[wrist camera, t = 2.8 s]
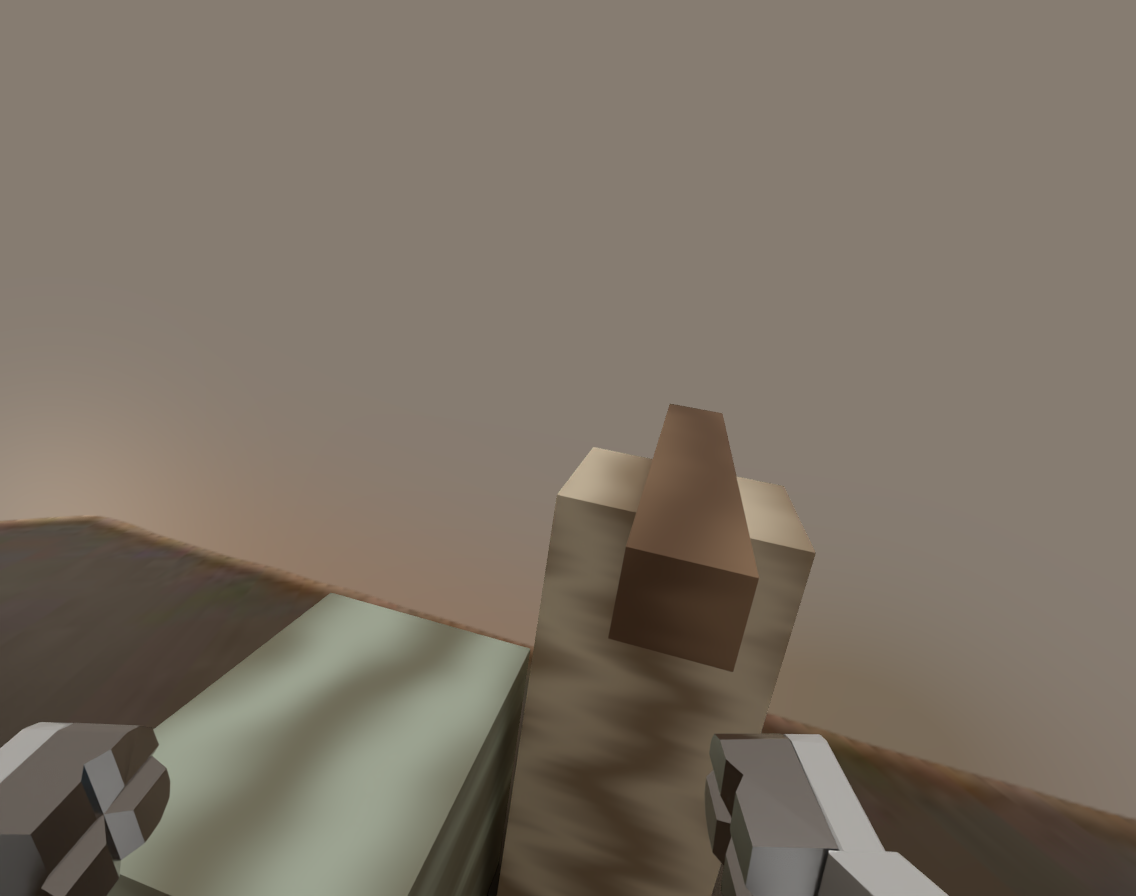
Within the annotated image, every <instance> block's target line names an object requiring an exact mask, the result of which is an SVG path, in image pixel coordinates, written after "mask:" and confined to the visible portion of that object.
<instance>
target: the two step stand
mask: <svg viewBox="0 0 1136 896" xmlns="http://www.w3.org/2000/svg"><path fill="white" fill-rule="evenodd" d="M652 460H653V459H649V458H644V457H639V456H634V455H629V454H625V453H620V452H615V451H610V450H605V449H600V448H595V447H593V448H592V450H591V451H590V452H589V454H588V455H587V456H586V458H585V459H584V460H583V461H582V463H581V464H580V465H579V467H578V468H577V469H576V471H575V472H574V473H573V474H572V476H571V477H570V478H569V480H568V481H567V482H566V484H565V485H564V486H563V487H562V489H561V490H560V491H559V493H558V494H557V498H556V505H555V511H554V519H553V525H552V531H551V538H550V545H549V551H548V558H547V565H546V571H545V578H544V585H543V591H542V598H541V605H540V612H539V618H538V625H537V631H536V638H535V645H534V651H533V658H532V665H531V671H530V678H529V685H528V691H527V698H526V705H525V711H524V718H523V725H522V731H521V738H520V745H519V751H518V758H517V765H516V771H515V778H514V785H513V791H512V798H511V805H510V811H509V818H508V825H507V831H506V838H505V845H504V851H503V858H502V865H501V871H500V878H499V885H498V892H497V896H711V895H712V892H713V888H714V885H715V882H716V879H717V875H718V872H719V869H720V866H721V862H720V861H719V860H718V858H717V857H716V856H715V855H714V854H713V853H712V848H711V844H710V839H709V835H708V829H707V822H706V816H705V784H706V776H707V775H708V774H710V773H711V772H712V771H713V766H712V762H711V758H710V755H709V751H710V744H711V739H712V737H713V735H714V734H761V731H762V728H763V724H764V721H765V718H766V714H767V711H768V708H769V705H770V701H771V698H772V694H773V691H774V688H775V685H776V682H777V678H778V675H779V672H780V668H781V665H782V662H783V659H784V655H785V652H786V649H787V645H788V642H789V639H790V636H791V632H792V629H793V626H794V622H795V619H796V616H797V613H798V609H799V606H800V603H801V599H802V596H803V593H804V589H805V586H806V583H807V579H808V576H809V573H810V569H811V567H812V563H813V560H814V557H815V551H814V549H813V547H812V544H811V542H810V540H809V538H808V536H807V534H806V532H805V530H804V528H803V525H802V524H801V521H800V519H799V517H798V515H797V513H796V511H795V509H794V507H793V505H792V502H791V500H790V498H789V496H788V494H787V492H786V490H785V488H784V486H780V485H775V484H771V483H766V482H761V481H756V480H751V479H746V478H741V477H737V476H736V477H737V481H738V486H739V490H740V495H741V499H742V504H743V508H744V513H745V517H746V522H747V526H748V531H749V535H750V540H751V544H752V549H753V553H754V558H755V562H756V567H757V571H758V576H759V580H758V584H757V588H756V591H755V595H754V598H753V602H752V606H751V609H750V613H749V617H748V620H747V624H746V627H745V631H744V635H743V638H742V642H741V646H740V649H739V653H738V656H737V660H736V664H735V667H734V671H733V672H730V671H726V670H723V669H719V668H715V667H711V666H708V665H704V664H700V663H697V662H693V661H689V660H686V659H682V658H678V657H675V656H671V655H667V654H663V653H660V652H656V651H652V650H649V649H645V648H641V647H638V646H634V645H630V644H627V643H623V642H619V641H615V640H612V639H608V636H609V631H610V626H611V621H612V615H613V610H614V605H615V600H616V595H617V590H618V584H619V579H620V574H621V569H622V564H623V559H624V554H625V548H626V544H627V541H628V538H629V535H630V531H631V528H632V525H633V522H634V519H635V515H636V512H637V509H638V506H639V502H640V499H641V496H642V493H643V489H644V486H645V483H646V480H647V476H648V473H649V470H650V467H651V463H652ZM529 654H530V649H529V648H525V647H522V646H518V645H515V644H511V643H508V642H504V641H500V640H497V639H493V638H490V637H486V636H483V635H479V634H476V633H472V632H469V631H465V630H461V629H458V628H454V627H451V626H447V625H444V624H440V623H437V622H433V621H430V620H426V619H422V618H419V617H415V616H412V615H408V614H405V613H401V612H398V611H394V610H391V609H387V608H383V607H380V606H376V605H373V604H369V603H366V602H362V601H359V600H355V599H351V598H348V597H344V596H341V595H337V594H334V593H330V594H329V595H328V596H326V597H325V598H324V599H322V600H321V601H320V602H318V603H317V604H316V605H315V606H313V607H312V608H311V609H309V610H308V611H307V612H305V613H304V614H303V615H302V616H300V617H299V618H298V619H296V620H295V621H294V622H293V623H291V624H290V625H289V626H287V627H286V628H285V629H283V630H282V631H281V632H280V633H278V634H277V635H276V636H274V637H273V638H272V639H270V640H269V641H268V642H267V643H265V644H264V645H263V646H261V647H260V648H259V649H258V650H256V651H255V652H254V653H252V654H251V655H250V656H248V657H247V658H246V659H245V660H243V661H242V662H241V663H239V664H238V665H237V666H235V667H234V668H233V669H232V670H230V671H229V672H228V673H226V674H225V675H224V676H222V677H221V678H220V679H219V680H217V681H216V682H215V683H213V684H212V685H211V686H210V687H208V688H207V689H206V690H204V691H203V692H202V693H200V694H199V695H198V696H197V697H195V698H194V699H193V700H191V701H190V702H189V703H187V704H186V705H185V706H184V707H182V708H181V709H180V710H178V711H177V712H176V713H174V714H173V715H172V716H171V717H169V718H168V719H167V720H165V721H164V722H163V723H162V724H160V725H159V726H158V727H156V728H155V729H154V730H153V731H154V733H155V736H156V738H157V741H158V743H159V746H158V748H157V749H156V751H155V753H154V754H153V757H154V758H155V759H156V760H158V761H159V762H160V763H161V764H162V765H164V766H165V767H166V768H167V771H168V774H169V778H170V798H169V800H168V803H167V806H166V808H165V811H164V813H163V816H162V818H161V821H160V823H159V824H158V825H157V827H156V828H155V830H154V831H153V833H152V834H151V835H150V837H149V838H148V840H147V841H146V842H145V844H143V845H142V846H140V847H139V848H138V849H136V850H135V851H133V852H132V853H131V854H129V855H128V856H126V857H125V858H124V859H122V860H121V866H120V877H119V879H118V881H117V882H116V883H115V885H114V886H113V888H112V889H111V890H110V892H109V893H108V894H107V896H487V894H488V891H489V888H490V885H491V883H492V880H493V877H494V874H495V872H496V869H497V866H498V863H499V857H500V850H501V843H502V837H503V830H504V823H505V816H506V810H507V803H508V796H509V789H510V783H511V776H512V769H513V762H514V755H515V749H516V742H517V735H518V728H519V722H520V715H521V708H522V701H523V694H524V688H525V681H526V674H527V667H528V661H529Z"/></svg>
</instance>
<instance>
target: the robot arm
mask: <svg viewBox="0 0 1136 896" xmlns="http://www.w3.org/2000/svg"><path fill="white" fill-rule="evenodd" d="M158 746H159V743H158V741H157V738H156V736H155V733H154V731H153V728H152V727H145V726H134V725H112V724H89V723H52V722H39V723H37V724H35V725H32V726H30V727H27V728H25V729H23V730H21V731H20V732H19V733H18V734H17V735H16V736H14V737H13V738H12V739H11V740H10V741H8V742H7V743H6V744H5V745H4V746H3V747H1V748H0V896H107V894H108V893H109V892H110V890H111V889H112V888H113V886H114V885H115V883H116V882H117V881H118V879H119V877H120V866H121V860H122V859H124V858H125V857H126V856H128V855H129V854H131V853H132V852H133V851H135V850H136V849H138V848H139V847H140V846H142V845H143V844H145V842H146V841H147V840H148V838H149V837H150V835H151V834H152V833H153V831H154V830H155V828H156V827H157V825H158V824H159V823H160V821H161V818H162V816H163V813H164V811H165V808H166V806H167V803H168V800H169V798H170V778H169V774H168V771H167V768H166V767H165V766H164V765H162V764H161V763H160V762H159V761H158V760H156V759H155V758H154V757H153V754H154V753H155V751H156V749H157V748H158ZM709 755H710V758H711V762H712V766H713V771H712V772H711V773H710V774H708V775H707V776H706V784H705V816H706V822H707V829H708V835H709V839H710V844H711V848H712V853H713V854H714V855H715V856H716V857H717V858H718V860H719V861H720V862H721V863H722V864H723V865H724V870H723V877H722V884H721V891H722V895H723V896H948V895H947V894H946V893H945V892H944V891H943V890H941V889H940V888H939V887H938V886H937V885H935V884H934V883H933V882H932V881H931V880H930V879H928V878H927V877H926V876H925V875H924V874H923V873H921V872H920V871H919V870H918V869H917V868H915V867H914V866H913V865H912V864H911V863H910V862H908V861H907V860H906V859H905V858H904V857H903V856H901V855H900V854H899V853H898V852H886V851H885V850H884V848H883V846H882V844H881V842H880V840H879V838H878V837H877V835H876V833H875V831H874V829H873V827H872V825H871V823H870V822H869V820H868V818H867V816H866V814H865V812H864V810H863V808H862V807H861V805H860V803H859V801H858V799H857V797H856V795H855V793H854V791H853V790H852V788H851V786H850V784H849V782H848V780H847V778H846V776H845V775H844V773H843V771H842V769H841V767H840V765H839V763H838V761H837V760H836V758H835V756H834V754H833V752H832V750H831V748H830V746H829V744H828V743H827V741H826V740H825V739H824V738H823V737H822V736H821V735H819V734H784V735H782V734H714V735H713V737H712V739H711V744H710V751H709Z"/></svg>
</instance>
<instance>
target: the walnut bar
mask: <svg viewBox="0 0 1136 896" xmlns="http://www.w3.org/2000/svg"><path fill="white" fill-rule="evenodd" d="M758 580H759V576H758V571H757V567H756V562H755V558H754V553H753V549H752V544H751V540H750V535H749V531H748V526H747V522H746V517H745V513H744V508H743V504H742V499H741V495H740V490H739V486H738V481H737V477H736V472H735V468H734V463H733V460H732V454H731V450H730V446H729V441H728V436H727V432H726V428H725V423H724V419H723V414H722V413H717V412H712V411H707V410H701V409H696V408H690V407H685V406H680V405H674V404H670V405H669V409H668V412H667V415H666V418H665V421H664V425H663V428H662V431H661V434H660V437H659V441H658V444H657V447H656V450H655V454H654V457H653V460H652V463H651V467H650V470H649V473H648V476H647V480H646V483H645V486H644V489H643V493H642V496H641V499H640V502H639V506H638V509H637V512H636V515H635V519H634V522H633V525H632V528H631V531H630V535H629V538H628V541H627V544H626V548H625V554H624V559H623V564H622V569H621V574H620V579H619V584H618V590H617V595H616V600H615V605H614V610H613V615H612V621H611V626H610V631H609V636H608V639H612V640H615V641H619V642H623V643H627V644H630V645H634V646H638V647H641V648H645V649H649V650H652V651H656V652H660V653H663V654H667V655H671V656H675V657H678V658H682V659H686V660H689V661H693V662H697V663H700V664H704V665H708V666H711V667H715V668H719V669H723V670H726V671H730V672H733V671H734V667H735V664H736V660H737V656H738V653H739V649H740V646H741V642H742V638H743V635H744V631H745V627H746V624H747V620H748V617H749V613H750V609H751V606H752V602H753V598H754V595H755V591H756V588H757V584H758Z"/></svg>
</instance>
